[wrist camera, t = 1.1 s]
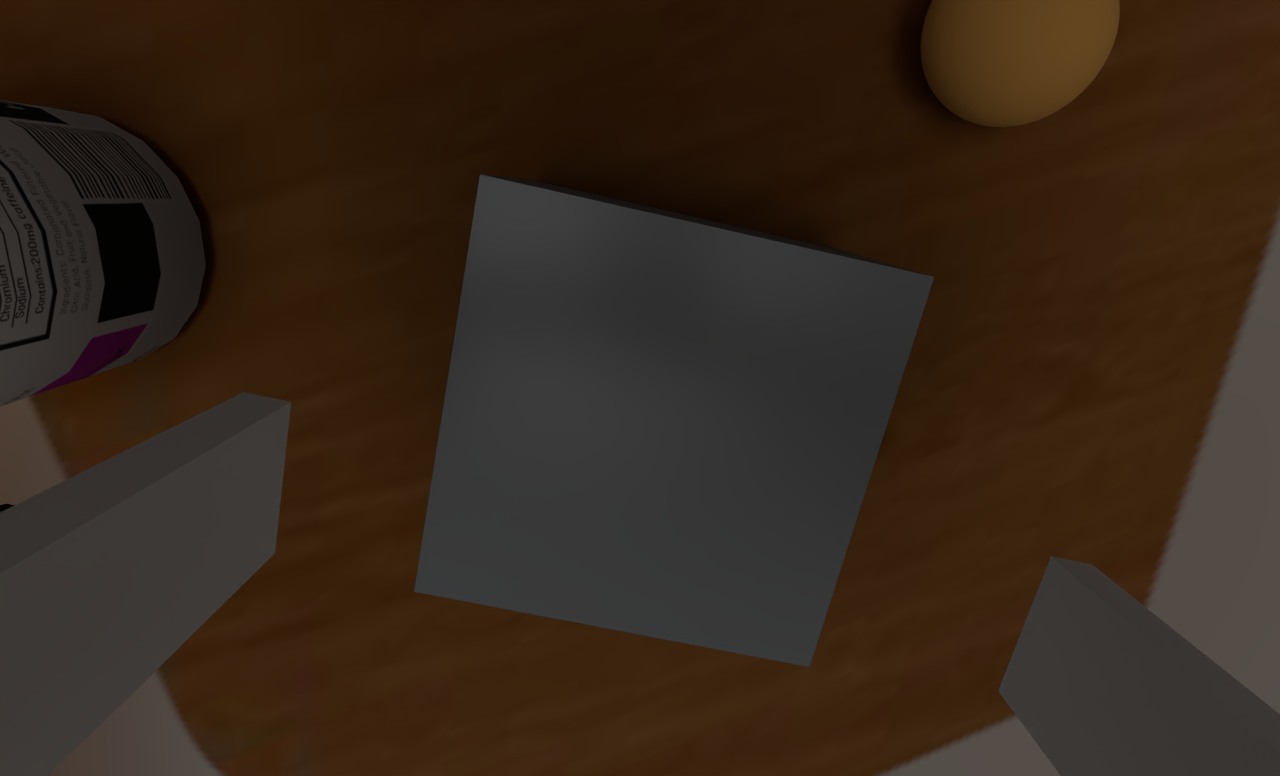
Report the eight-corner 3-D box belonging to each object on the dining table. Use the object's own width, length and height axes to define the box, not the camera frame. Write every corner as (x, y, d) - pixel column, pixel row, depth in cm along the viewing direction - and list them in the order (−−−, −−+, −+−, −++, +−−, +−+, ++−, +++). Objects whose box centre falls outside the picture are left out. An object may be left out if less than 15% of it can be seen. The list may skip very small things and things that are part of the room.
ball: (924, -56, 23) (1003, -123, 18) (1078, -17, 23) (1197, -73, 18) (876, 114, 24) (937, 94, 19) (1022, 149, 24) (1119, 138, 19)
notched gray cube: (534, 180, 24) (480, 173, 16) (832, 248, 25) (934, 276, 16) (484, 464, 27) (413, 591, 18) (755, 519, 27) (809, 666, 19)
